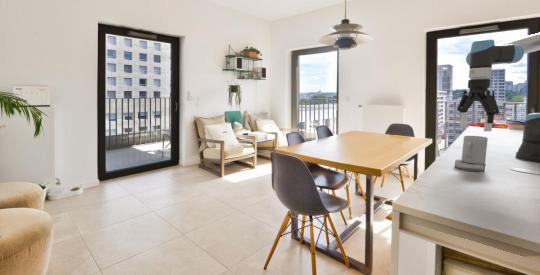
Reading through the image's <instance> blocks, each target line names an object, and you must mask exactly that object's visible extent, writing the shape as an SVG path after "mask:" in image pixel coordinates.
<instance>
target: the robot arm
mask: <svg viewBox="0 0 540 275" xmlns="http://www.w3.org/2000/svg"><path fill="white" fill-rule="evenodd" d="M537 51H540V32H538V33H535V34H530V35H527V36H524V37H519V38H516V39H513V40H510V41H507V42H506V41H505V42H502V43H498V44H495V40H494V39H492V38H490V39H489V38H488V39H487V38H485V39H477V40H475V41H473V42H472V44H471V48H470V52H469V53H467V55H466V58H465V62H466V64H467V65H468V66H469V71H468V81H467V88H468V89H469V90H468V89H467V90H466V89H465V90H463V94H462V97H461V99H460V101H459V103H458V106H457V108H456V111H459V113H460V114H459V120H460V121H459V128H467V126H468V117H469V112H468V110H469V109H470V108H471V106H472V105H473V104H474V102H479V103H480V104H481V106H482V108H483V109H484V112H485V115H484V121H483V122H484V123H483V125H484V126H483V132H492V129H493V124H494V118H495V115H499V114H500V109H499V107H498V106H499V105H498V104H497V100H496V97H495V90H494V89H493V90H492V89H491V90H489V88H490V86H491V79H490V78H491V77H492V69H493V68H492V67H493V66H494V65H500V64H501V65H502V64H503V65H504V64H508V65H509V64H515V63H518V62H520V61H521V60H522V59H523V57H524V56H525V55H526V54H530V53H533V52H537ZM523 124H524V126H523V132H522V139H521V140H522V141H521V144H520V146H519V147H518V150H517V151H516V153H515V158H516V159H517V160H518V159H519V160H521V161H525V162H526V161H527V162H533V163H538V164H539V163H540V112H532V113H528V114H527V115H525V119H524V123H523Z"/></svg>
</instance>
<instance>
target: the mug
mask: <svg viewBox="0 0 540 275" xmlns="http://www.w3.org/2000/svg"><path fill="white" fill-rule="evenodd" d="M488 140H489V138H488V137H487V136H481V135H480V136H479V135H463V141H462V150H461V152H462V153H461V159H462V161H463V162H466V163H472V164H484V163H485V164H486V161H487V160H486V158H487V148H488Z"/></svg>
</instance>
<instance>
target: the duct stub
mask: <svg viewBox="0 0 540 275" xmlns="http://www.w3.org/2000/svg"><path fill="white" fill-rule="evenodd" d="M486 165H487V164H486V162H485V163H484V164H472V163H466V162H463V161H462V158H457V159H455V160H454V168H455V169H456V170H459V171H464V172H468V173H484V172H486Z"/></svg>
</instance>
